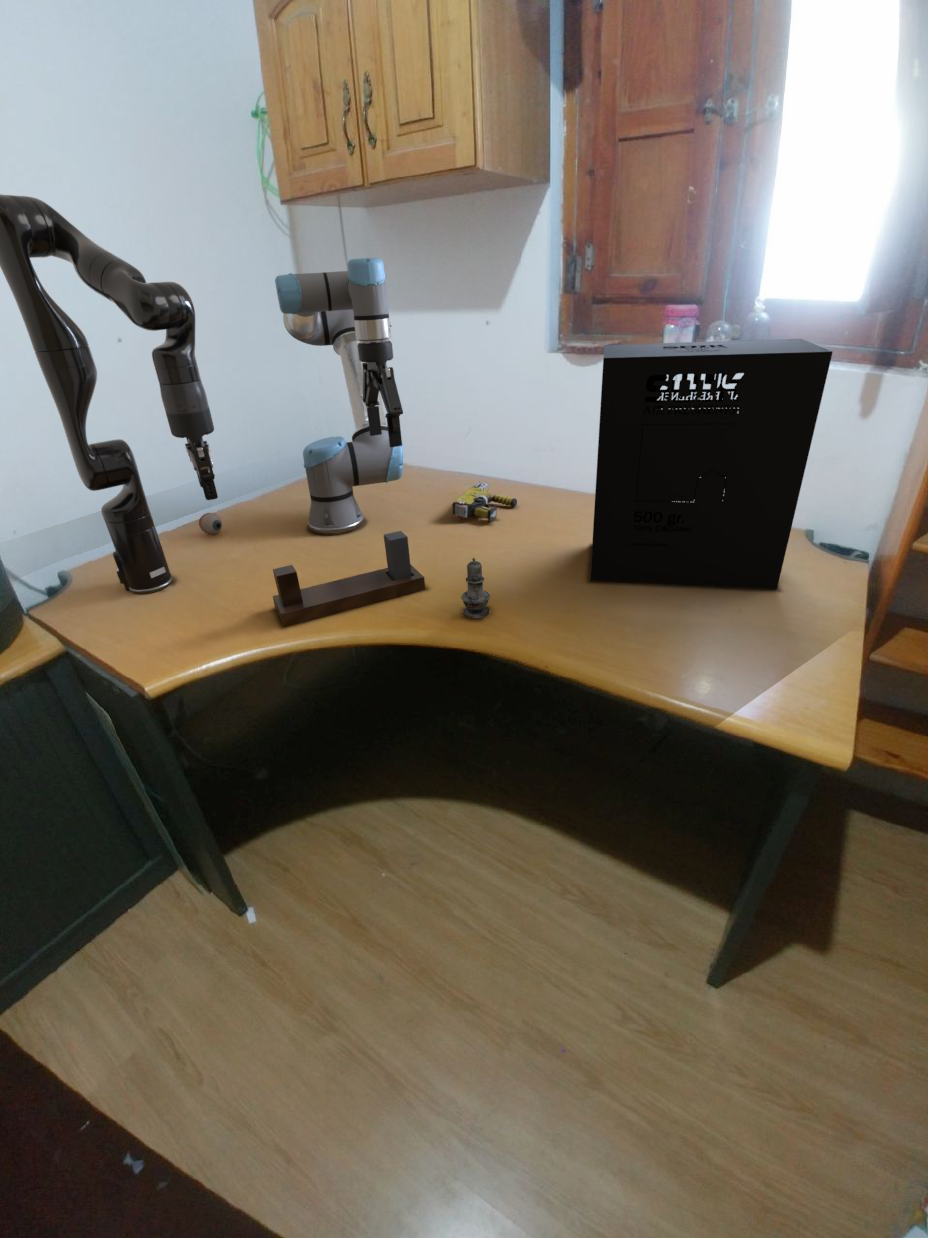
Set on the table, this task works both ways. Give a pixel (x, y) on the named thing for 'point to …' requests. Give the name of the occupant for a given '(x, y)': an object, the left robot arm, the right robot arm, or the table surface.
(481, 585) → the grey chess piece
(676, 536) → the cardboard box
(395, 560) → the grey peg
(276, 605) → the walnut plank
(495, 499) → the toy gun
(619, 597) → the table surface
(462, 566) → the table surface
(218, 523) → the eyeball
